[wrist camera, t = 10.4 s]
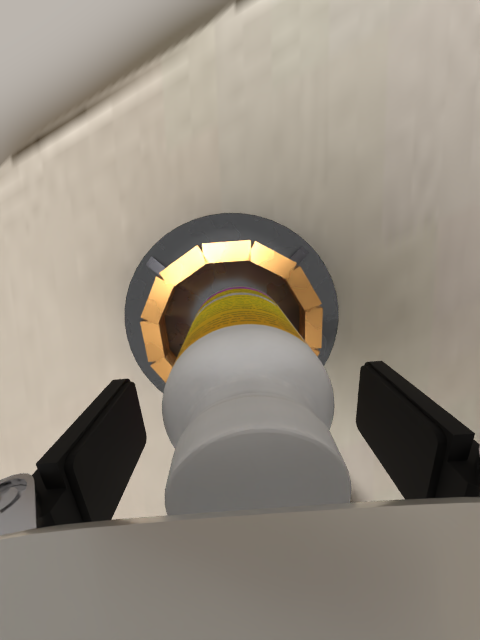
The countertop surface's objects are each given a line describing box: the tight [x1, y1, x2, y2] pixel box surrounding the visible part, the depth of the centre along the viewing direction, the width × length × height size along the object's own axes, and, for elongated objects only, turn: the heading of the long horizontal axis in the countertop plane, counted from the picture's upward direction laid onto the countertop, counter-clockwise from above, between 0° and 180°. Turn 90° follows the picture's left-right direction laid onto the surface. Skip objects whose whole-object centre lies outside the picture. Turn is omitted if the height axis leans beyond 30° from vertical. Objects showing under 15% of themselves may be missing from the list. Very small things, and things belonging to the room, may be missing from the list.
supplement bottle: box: [162, 286, 351, 516], centre depth 12 cm, size 7×7×13 cm
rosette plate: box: [125, 213, 338, 393], centre depth 18 cm, size 16×16×3 cm
